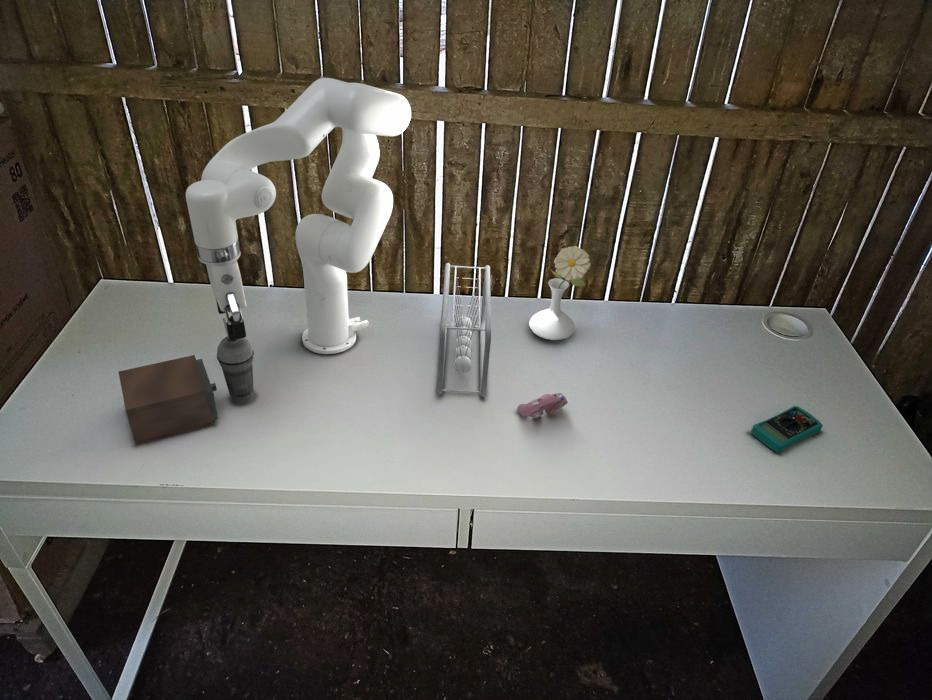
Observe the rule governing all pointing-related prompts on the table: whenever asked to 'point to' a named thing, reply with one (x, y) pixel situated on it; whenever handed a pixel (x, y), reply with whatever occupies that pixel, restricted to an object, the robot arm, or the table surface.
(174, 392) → the cabinet
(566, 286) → the flower in vase
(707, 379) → the table surface
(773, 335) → the table surface
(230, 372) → the beverage cup
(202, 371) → the drawer
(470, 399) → the table surface
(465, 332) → the newton's cradle
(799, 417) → the digital multimeter
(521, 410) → the pink toy car
